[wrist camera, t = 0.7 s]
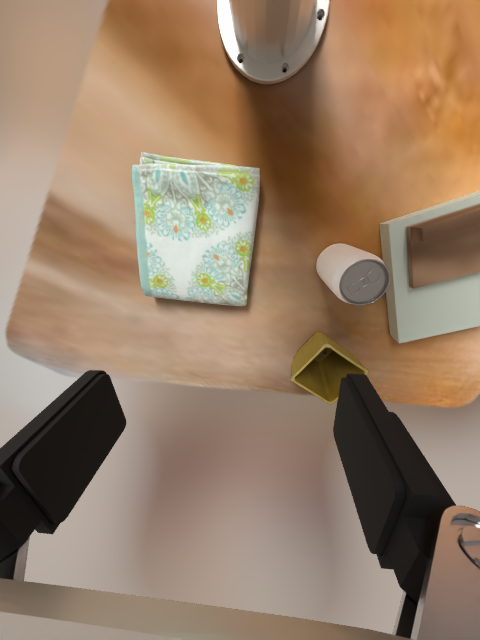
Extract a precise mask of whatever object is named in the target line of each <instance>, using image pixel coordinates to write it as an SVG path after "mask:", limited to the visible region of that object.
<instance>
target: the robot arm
mask: <svg viewBox="0 0 480 640" xmlns="http://www.w3.org/2000/svg"><path fill="white" fill-rule="evenodd" d="M329 5H330V0H226V1H224V0H217V13H218V24H219V29H220V34H221V38H222V42H223V45H224V48H225V50H226V53H227V55H228V57H229V59H230V61H231V62H232V64H233V65H234V67H235V68H236V69H237V70H238V71H239V72H240V73H241V74H242V75H243V76H244V77H246V78H248V79H249V80H251V81H253V82H256V83H259V84H269V85H270V84H275V83H280V82H282V81H284V80H287V79H289V78H290V77H291V76H293V75H294V74H296V73H297V72H298V71H299V70H300V69H301V68H302V67H303V66H304V65H305V64H306V63H307V61H308V60H309V58H310V57H311V56H312V54H313V53H314V51H315V49H316V47H317V45H318V43H319V41H320V38H321V35H322V33H323V30H324V27H325V23H326V20H327V17H328V12H329ZM318 18H320V19H321V20H320V21H319V20H318ZM241 60H242V61H243V63H241V64H240V63H239V62H240V61H241ZM284 69H285V70H286V72H285V73H284V72H282V71H283V70H284ZM125 426H126V419H125V416H124V413H123V411H122V408H121V405H120V403H119V400H118V397H117V395H116V392H115V389H114V387H113V384H112V381H111V379H110V376H109V375H108V374H106V372H105V371H98V370H90V371H87V372H86V373H84V374H83V375H82V376H81V377H80V378H79V379H78V380H77V381H75V382H74V383H73V384H72V385H71V386H70V387H69V388H68V389H66V390H65V391H64V392H63V393H62V394H61V395H60V396H59V397H58V398H56V399H55V400H54V401H53V402H52V403H51V404H50V405H49V406H47V407H46V408H45V409H44V410H43V411H42V412H41V413H40V414H39V415H37V417H35V418H34V419H33V420H32V421H31V422H29V423H28V424H27V425H26V426H25V427H24V428H23V429H22V430H21V431H19V432H18V433H17V434H16V435H15V436H14V437H13V438H12V439H10V440H9V441H8V442H7V443H6V444H5V445H4V446H3V447H1V448H0V640H480V511H478V510H476V509H473V508H469V507H465V506H456V504H455V503H454V501H453V500H452V499H451V497H450V495H449V494H448V492H447V491H446V489H445V488H444V486H443V485H442V483H441V482H440V480H439V478H438V477H437V475H436V474H435V472H434V471H433V469H432V468H431V466H430V465H429V463H428V462H427V460H426V458H425V457H424V456H423V454H422V452H421V451H420V449H419V448H418V446H417V445H416V443H415V442H414V440H413V439H412V437H411V436H410V434H409V432H408V431H407V429H406V428H405V426H404V425H403V424H402V422H401V420H400V419H399V418H398V416H397V415H396V414H395V413H393V412H389V411H388V410H387V409H386V407H385V405H384V403H383V402H382V400H381V399H380V397H379V395H378V394H377V392H376V390H375V389H374V387H373V386H372V384H371V382H370V381H369V379H368V378H367V376H366V375H365V374H354V373H348V374H347V375H346V377H342V378H341V383H340V389H339V395H338V402H337V408H336V416H335V421H334V428H333V431H334V438H335V441H336V444H337V447H338V451H339V454H340V457H341V461H342V464H343V467H344V470H345V474H346V476H347V480H348V483H349V487H350V490H351V493H352V496H353V499H354V502H355V506H356V509H357V513H358V516H359V519H360V522H361V525H362V529H363V532H364V535H365V538H366V542H367V544H368V548H369V550H370V552H371V553H373V554H377V557H378V560H379V563H380V566H381V568H384V569H385V568H386V569H394V572H395V575H396V577H397V580H398V583H399V585H400V587H401V588H402V589H403V590H404V591H403V595H402V599H401V603H400V607H399V611H398V614H397V618H396V622H395V626H394V630H393V634H392V635H391V634H387V633H383V632H378V631H374V630H369V629H363V628H357V627H351V626H345V625H339V624H332V623H326V622H320V621H314V620H308V619H302V618H296V617H288V616H281V615H274V614H267V613H260V612H252V611H245V610H238V609H231V608H223V607H216V606H208V605H202V604H195V603H187V602H179V601H172V600H165V599H157V598H150V597H142V596H134V595H126V594H119V593H111V592H103V591H96V590H88V589H81V588H73V587H65V586H57V585H49V584H41V583H34V582H26V581H24V575H25V568H26V560H27V553H28V545H29V538H30V537H29V536H30V535H31V534H32V532H33V531H34V529H35V530H36V531H37V532H38V533H47V534H53V533H54V532H55V530H56V529H57V527H58V526H59V524H60V523H61V522H63V521H64V520H65V519H66V518H67V517H68V515H69V513H70V512H71V510H72V509H73V507H74V506H75V504H76V503H77V501H78V499H79V498H80V497H81V495H82V494H83V492H84V490H85V489H86V487H87V486H88V484H89V483H90V481H91V480H92V478H93V477H94V475H95V473H96V471H97V470H98V469H99V467H100V466H101V464H102V463H103V461H104V460H105V458H106V456H107V455H108V454H109V452H110V450H111V449H112V447H113V446H114V444H115V443H116V441H117V440H118V438H119V437H120V435H121V433H122V432H123V430H124V429H125Z"/></svg>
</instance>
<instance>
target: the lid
mask: <svg viewBox="0 0 480 640" xmlns="http://www.w3.org/2000/svg"><path fill="white" fill-rule="evenodd" d="M406 234H407V251H408V268H409V285H410V287H411V288H413V289H415V288H419V287H423V286H426V285H430V284H434V283H438V282H442V281H445V280H449V279H453V278H457V277H461V276H465V275H468V274H472V273H476V272H480V203H479V204H476V205H473V206H470V207H467V208H463V209H460V210H457V211H454V212H451V213H448V214H445V215H441V216H438V217H435V218H432V219H429V220H426V221H423V222H419V223H416V224H413V225H410V226H407V227H406Z"/></svg>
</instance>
